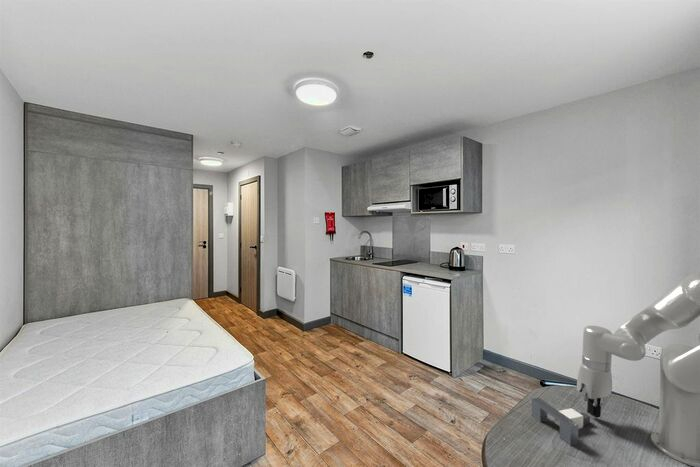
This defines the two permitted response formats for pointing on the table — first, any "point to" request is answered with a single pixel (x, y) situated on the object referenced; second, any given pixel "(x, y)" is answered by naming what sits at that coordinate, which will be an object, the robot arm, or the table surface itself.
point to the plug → (575, 417)
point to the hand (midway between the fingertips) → (593, 414)
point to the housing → (566, 425)
